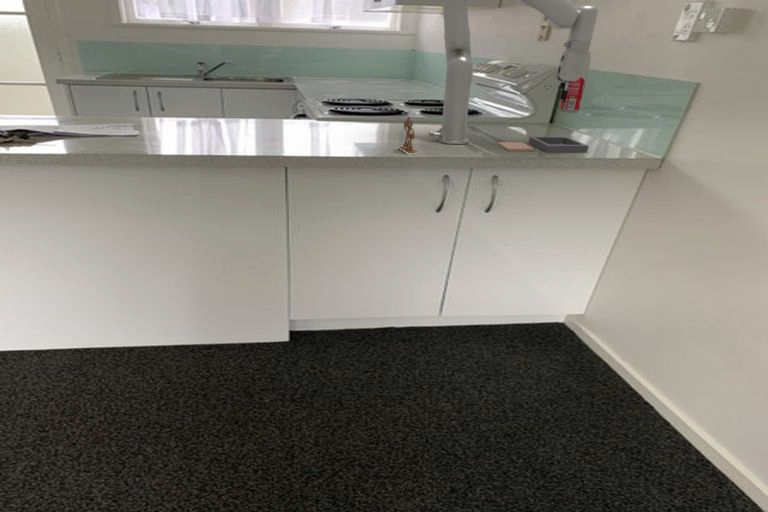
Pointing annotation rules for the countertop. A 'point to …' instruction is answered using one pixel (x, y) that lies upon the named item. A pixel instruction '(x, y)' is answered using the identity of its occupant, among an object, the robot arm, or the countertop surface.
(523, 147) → the tile
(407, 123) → the bronze figurine
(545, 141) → the gray square tray
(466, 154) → the countertop surface
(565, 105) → the soda can
